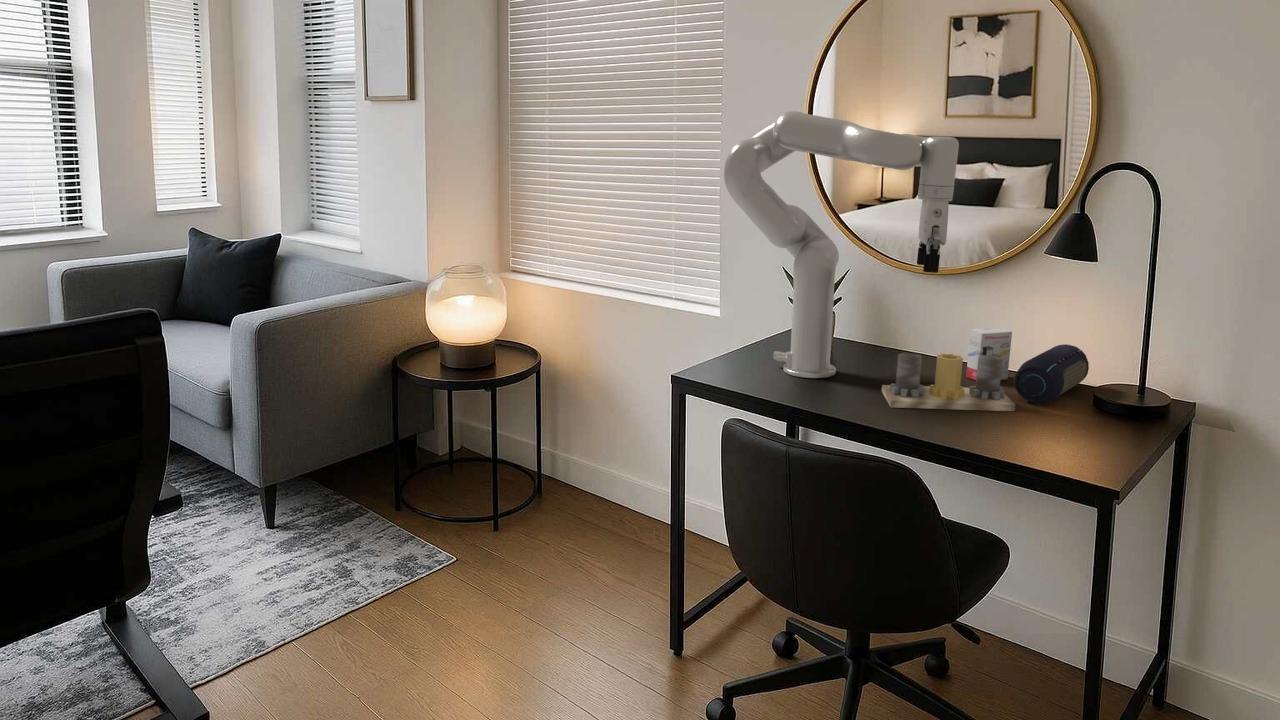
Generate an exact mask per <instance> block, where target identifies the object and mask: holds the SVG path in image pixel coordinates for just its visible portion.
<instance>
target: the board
mask: <svg viewBox="0 0 1280 720" xmlns="http://www.w3.org/2000/svg"><path fill="white" fill-rule="evenodd" d="M922 359H923V356H922V355H921V354H917V353H912V352H902V353H899V354H897V364H896V365H897V366H896V377H895V383H890V384H882V385H881V393H882V395H883V396H884V399H885V401H886V402H887V403H888V405H889V407H890V408H897V409H898V408H899V409H901V408H904V409H927V410H928V409H931V410H933V409H935V410H958V411H960V410H961V411H963V410H964V411H988V412H989V411H990V412H991V411H992V412H993V411H994V412H1015V410H1016V403H1014V402H1013V401H1012V399H1010V397H1009V396H1008V395H1006V390H1005V389H1004V387H1002V386H1001V381H1002V380H1001V372H1002V363H1003V359H1002V358H1001V357H997V356H991V355H982V356H979V357H978V367H977V377H976V380H975V383H974V385H970V386H969V387H967V386H966V387H965V386H964V387H963V386H962V387H963V389H965V390H964V397H959V399H953V398H947V399H943V398H941V397H940V396H932V395H931V393H929V389H930V385H928V386H927V385H923V384H920V382H921V370H922V361H923V360H922Z"/></svg>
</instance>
